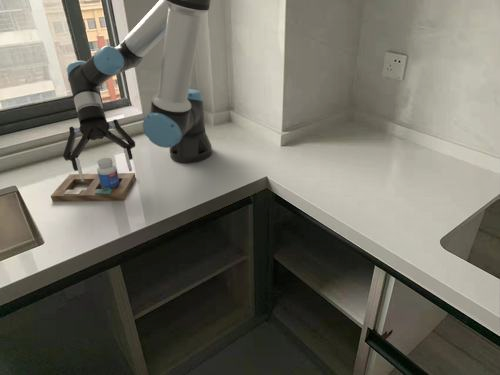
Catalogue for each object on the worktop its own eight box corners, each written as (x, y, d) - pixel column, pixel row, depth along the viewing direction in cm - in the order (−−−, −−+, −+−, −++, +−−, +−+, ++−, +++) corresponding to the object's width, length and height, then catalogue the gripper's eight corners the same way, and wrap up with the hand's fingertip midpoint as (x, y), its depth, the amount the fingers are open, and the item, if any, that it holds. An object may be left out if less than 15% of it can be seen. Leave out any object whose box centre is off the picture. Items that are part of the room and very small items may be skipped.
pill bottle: (115, 194, 110) (107, 165, 105) (99, 192, 111) (90, 164, 106) (124, 185, 115) (117, 157, 110) (108, 183, 116) (101, 156, 111)
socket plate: (135, 178, 118) (134, 172, 117) (123, 200, 107) (122, 193, 106) (71, 179, 119) (69, 173, 118) (52, 201, 108) (50, 195, 106)
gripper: (132, 109, 120) (149, 169, 116) (48, 123, 111) (63, 188, 107) (131, 98, 113) (149, 161, 109) (42, 111, 104) (58, 180, 100)
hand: (107, 174), depth 108 cm, fingers open, 13 cm apart
